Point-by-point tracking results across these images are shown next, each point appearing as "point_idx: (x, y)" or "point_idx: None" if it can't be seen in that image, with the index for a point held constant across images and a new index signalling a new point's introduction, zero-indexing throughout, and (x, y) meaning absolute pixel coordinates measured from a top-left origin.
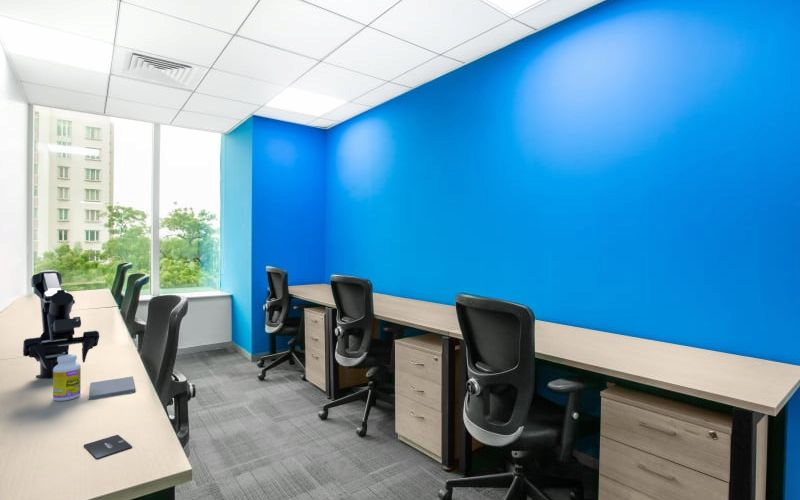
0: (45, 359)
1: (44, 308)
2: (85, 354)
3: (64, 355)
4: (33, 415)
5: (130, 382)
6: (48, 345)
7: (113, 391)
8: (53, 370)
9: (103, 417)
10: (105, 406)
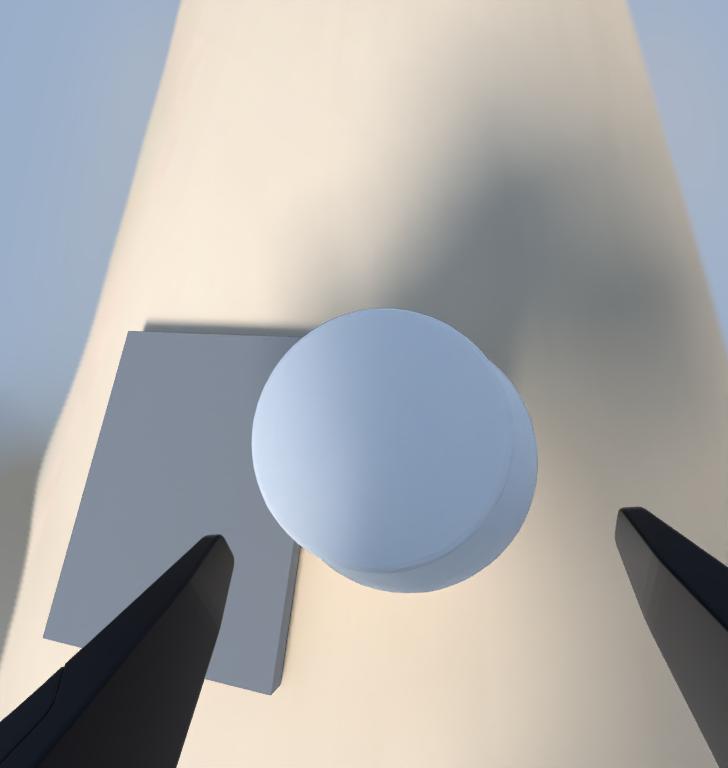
0: (718, 602)
1: None
2: (141, 600)
3: (406, 517)
4: (572, 247)
5: (103, 480)
6: None
7: (213, 352)
8: (530, 420)
9: (315, 81)
10: (287, 200)
